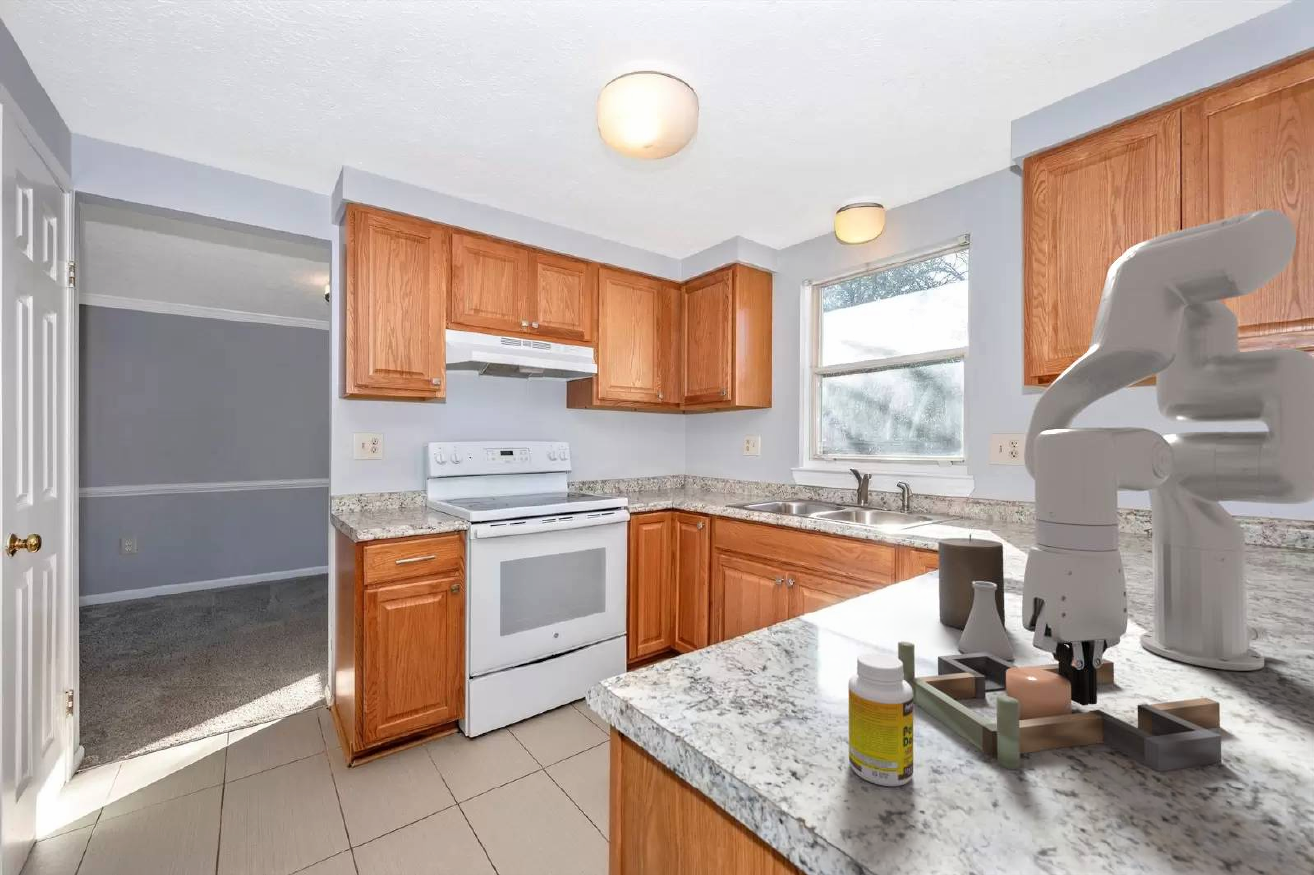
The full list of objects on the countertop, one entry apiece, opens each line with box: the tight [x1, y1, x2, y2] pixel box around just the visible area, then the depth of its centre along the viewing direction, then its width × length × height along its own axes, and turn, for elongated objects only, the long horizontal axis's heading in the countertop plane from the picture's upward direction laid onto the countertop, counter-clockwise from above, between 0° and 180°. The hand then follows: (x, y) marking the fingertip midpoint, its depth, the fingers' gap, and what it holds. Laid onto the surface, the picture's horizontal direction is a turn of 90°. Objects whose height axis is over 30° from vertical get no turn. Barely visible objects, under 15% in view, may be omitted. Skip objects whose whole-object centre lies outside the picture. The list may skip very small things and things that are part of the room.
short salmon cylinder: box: [1005, 666, 1072, 720], centre depth 62 cm, size 6×6×4 cm
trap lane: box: [897, 641, 1222, 773], centre depth 62 cm, size 28×23×6 cm
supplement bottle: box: [847, 652, 914, 787], centre depth 51 cm, size 6×6×10 cm
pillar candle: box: [937, 533, 1006, 630], centre depth 94 cm, size 10×10×15 cm
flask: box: [957, 581, 1015, 661], centre depth 80 cm, size 7×7×10 cm
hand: (1077, 699), depth 63 cm, fingers closed
